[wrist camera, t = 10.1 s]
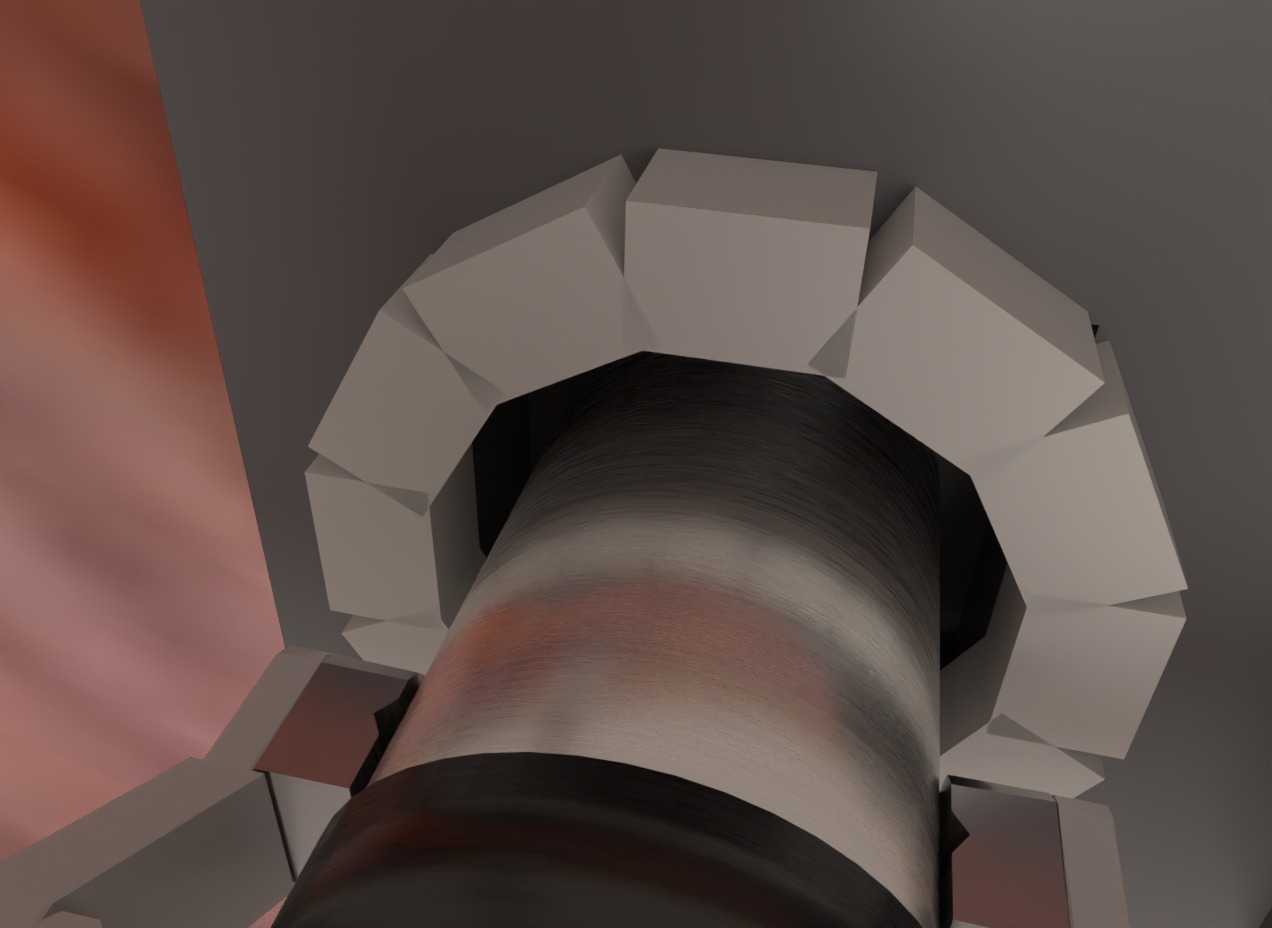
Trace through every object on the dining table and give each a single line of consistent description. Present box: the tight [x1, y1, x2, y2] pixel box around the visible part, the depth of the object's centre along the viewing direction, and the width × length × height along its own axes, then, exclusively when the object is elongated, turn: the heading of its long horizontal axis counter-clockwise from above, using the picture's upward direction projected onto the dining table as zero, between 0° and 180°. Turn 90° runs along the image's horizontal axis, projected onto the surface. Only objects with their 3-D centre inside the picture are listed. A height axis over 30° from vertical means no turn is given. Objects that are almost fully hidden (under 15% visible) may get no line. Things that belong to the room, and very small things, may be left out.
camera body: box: [140, 0, 1272, 928], centre depth 15 cm, size 14×20×9 cm
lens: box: [271, 350, 940, 928], centre depth 11 cm, size 6×6×10 cm
